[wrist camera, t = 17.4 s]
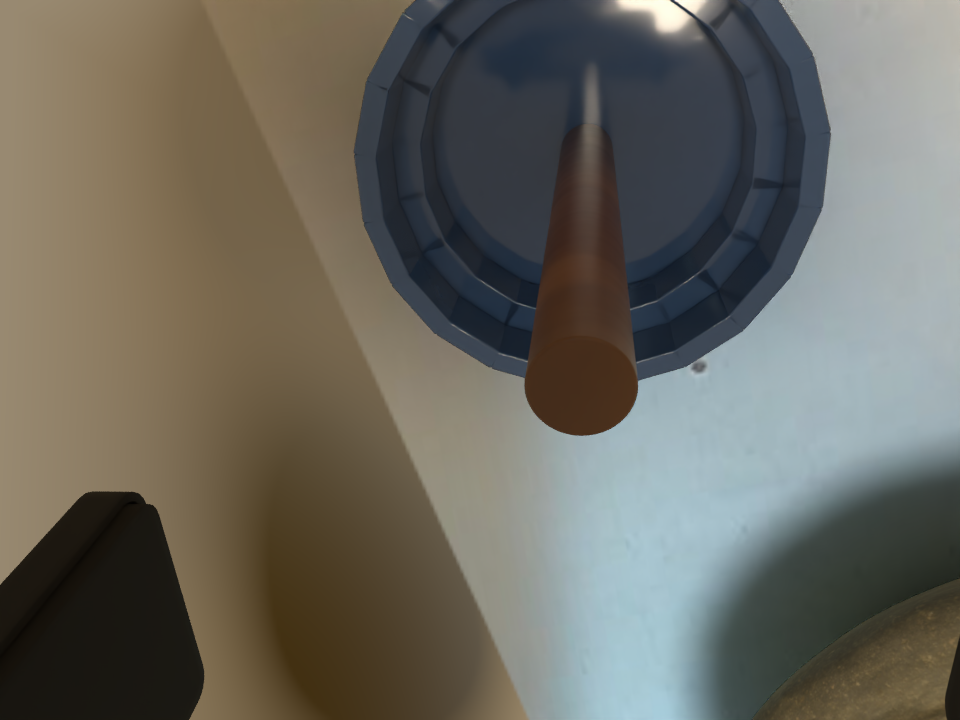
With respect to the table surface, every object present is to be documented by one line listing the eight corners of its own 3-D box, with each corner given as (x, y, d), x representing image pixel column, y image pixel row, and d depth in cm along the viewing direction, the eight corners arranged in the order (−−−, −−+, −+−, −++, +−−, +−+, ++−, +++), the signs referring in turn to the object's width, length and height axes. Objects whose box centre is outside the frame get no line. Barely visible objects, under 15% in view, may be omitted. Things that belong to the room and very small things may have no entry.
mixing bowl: (413, 325, 38) (384, 387, 32) (370, -59, 31) (324, -62, 26) (771, 320, 36) (803, 385, 30) (808, -94, 29) (858, -105, 23)
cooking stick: (561, 176, 33) (526, 436, 15) (560, 124, 32) (521, 337, 14) (612, 174, 33) (637, 437, 15) (612, 122, 32) (638, 336, 14)
